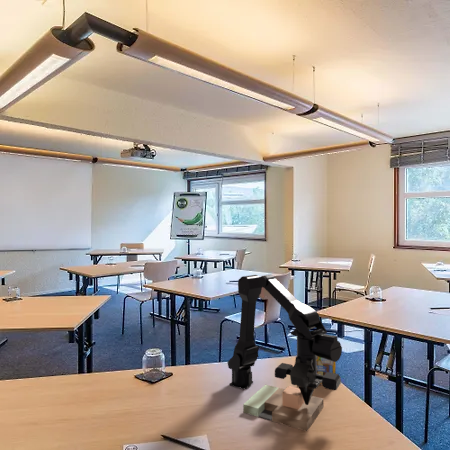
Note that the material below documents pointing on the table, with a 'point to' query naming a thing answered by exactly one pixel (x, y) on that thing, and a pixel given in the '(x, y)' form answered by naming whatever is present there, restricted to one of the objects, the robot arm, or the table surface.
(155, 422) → the table surface
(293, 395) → the terracotta block
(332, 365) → the chalk box
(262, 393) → the trap board
